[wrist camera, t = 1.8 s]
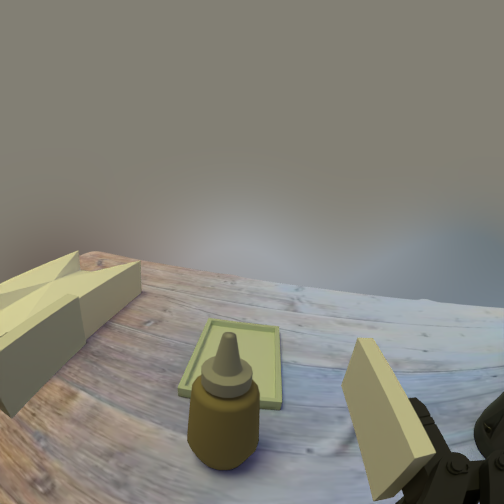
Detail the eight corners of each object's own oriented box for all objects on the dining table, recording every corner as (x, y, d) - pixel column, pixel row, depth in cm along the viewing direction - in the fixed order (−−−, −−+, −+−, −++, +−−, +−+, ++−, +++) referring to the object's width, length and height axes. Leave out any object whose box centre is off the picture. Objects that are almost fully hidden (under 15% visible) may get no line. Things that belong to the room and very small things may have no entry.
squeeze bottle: (183, 433, 29) (176, 314, 24) (243, 425, 31) (258, 311, 27) (196, 482, 21) (187, 369, 17) (264, 470, 24) (295, 357, 20)
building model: (81, 280, 71) (78, 250, 69) (141, 293, 69) (140, 260, 67) (-31, 348, 27) (-45, 305, 25) (28, 395, 26) (8, 345, 24)
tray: (208, 325, 58) (208, 317, 57) (277, 333, 57) (278, 326, 57) (178, 396, 35) (177, 387, 35) (279, 410, 35) (282, 402, 34)
